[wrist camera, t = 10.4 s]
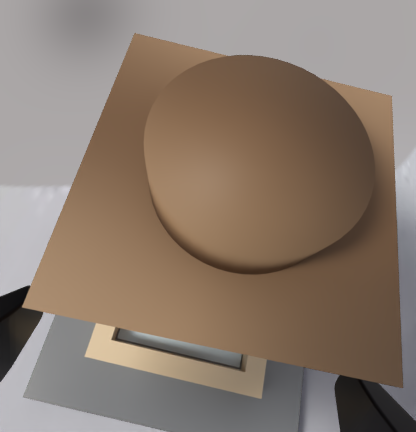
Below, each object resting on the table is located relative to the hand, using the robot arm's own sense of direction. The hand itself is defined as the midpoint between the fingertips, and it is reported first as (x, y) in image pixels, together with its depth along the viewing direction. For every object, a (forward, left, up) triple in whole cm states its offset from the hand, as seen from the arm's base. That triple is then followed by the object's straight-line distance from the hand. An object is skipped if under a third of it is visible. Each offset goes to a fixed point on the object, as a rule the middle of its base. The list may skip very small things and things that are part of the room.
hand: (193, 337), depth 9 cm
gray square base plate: (+1, -2, -10) cm, 10 cm away
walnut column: (+1, -2, -9) cm, 9 cm away
